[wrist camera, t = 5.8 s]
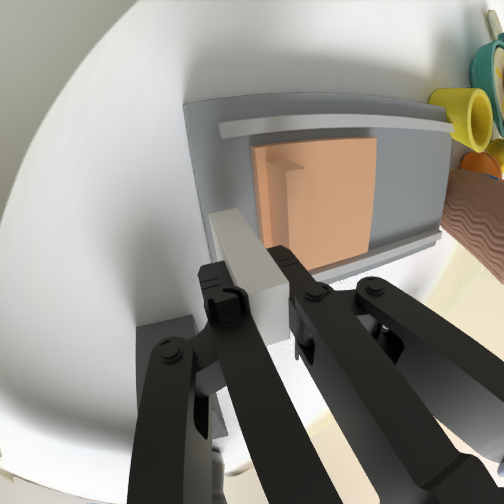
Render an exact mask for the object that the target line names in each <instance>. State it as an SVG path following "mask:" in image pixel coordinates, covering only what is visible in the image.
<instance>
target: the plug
mask: <svg viewBox="0 0 504 504" xmlns="http://www.w3.org/2000/svg"><path fill="white" fill-rule="evenodd" d="M198 333H199V332H198V329H197V327H196V324H195V321H194V318H193V315H188V316H184V317H180V318H176V319H172V320H167V321H163V322H159V323H154V324H150V325H146V326H141V327H136V392H137V410H138V412H139V407H140V401H141V396H142V391H143V386H144V381H145V376H146V372H147V367H148V363H149V358H150V354H151V352H152V349H153V347H154V346H155V345H156V344H157V343H158V342H159V341H161V340H163V339H165V338H168V337H173V336H176V337H182V338H184V339H186V340H188V339H190V338H192V337H194V336H195V335H197V334H198ZM224 436H228V432H227V429H226V426H225V423H224V419H223V416H222V412H221V409H220V405H219V402H218V398H217V394H216V392H215V393H214V394H213V405H212V439H216V438H220V437H224Z"/></svg>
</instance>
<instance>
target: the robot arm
mask: <svg viewBox="0 0 504 504" xmlns="http://www.w3.org/2000/svg"><path fill="white" fill-rule="evenodd" d="M208 215H209V220H210V225H211V230H212V235H213V240H214V245H215V250H216V255H217V259H218V262H215V263H211V264H207V265H203V266H201V267H200V270H199V272H198V277H199V282H200V286H201V290H202V294H203V298H204V308H205V312H206V315H207V318H208V321H207V324H206V326H205V328H204V329H203V330H202V331H201V332H200V333H198V334H197V335H195V336H194V337H192V338H190V339H188V340H186V339H184V338H182V337H176V336H173V337H168V338H165V339H163V340H161V341H159V342H158V343H157V344H156V345H155V346H154V347H153V349H152V352H151V354H150V358H149V363H148V367H147V372H146V376H145V381H144V386H143V391H142V396H141V401H140V407H139V412H138V418H137V424H136V430H135V436H134V443H133V450H132V458H131V465H130V474H129V484H128V494H127V504H227V501H226V499H225V496H224V492H223V481H224V461H223V458H222V455H221V454H220V453H218V452H214V451H212V405H213V394H214V393H215V392H217V391H219V390H220V389H222V388H223V387H225V386H227V388H228V391H229V394H230V397H231V401H232V404H233V407H234V410H235V413H236V416H237V419H238V422H239V425H240V428H241V431H242V434H243V437H244V439H245V442H246V445H247V448H248V451H249V453H250V456H251V459H252V462H253V464H254V467H255V470H256V472H257V475H258V477H259V480H260V483H261V485H262V488H263V490H264V493H265V495H266V497H267V500H268V502H269V504H343V502H342V500H341V498H340V497H339V495H338V493H337V491H336V489H335V487H334V485H333V483H332V481H331V479H330V477H329V476H328V474H327V472H326V470H325V468H324V466H323V464H322V462H321V460H320V458H319V456H318V454H317V452H316V450H315V448H314V446H313V444H312V442H311V441H310V438H309V436H308V434H307V432H306V430H305V428H304V426H303V424H302V422H301V420H300V418H299V416H298V414H297V412H296V409H295V407H294V405H293V403H292V401H291V399H290V397H289V395H288V393H287V391H286V389H285V386H284V384H283V382H282V380H281V378H280V376H279V374H278V372H277V369H276V367H275V365H274V363H273V361H272V359H271V357H270V354H269V352H268V350H267V348H266V346H267V345H271V344H274V343H277V342H280V341H283V340H286V339H289V338H290V330H291V331H292V333H293V335H294V337H295V359H296V360H299V355H300V357H301V358H302V360H303V362H304V364H305V366H306V367H307V369H308V371H309V373H310V375H311V377H312V378H313V380H314V382H315V384H316V386H317V387H318V389H319V391H320V393H321V395H322V396H323V398H324V400H325V402H326V404H327V405H328V407H329V409H330V411H331V413H332V414H333V416H334V418H335V420H336V422H337V423H338V425H339V427H340V429H341V430H342V432H343V434H344V436H345V437H346V439H347V441H348V443H349V445H350V446H351V448H352V450H353V452H354V453H355V455H356V457H357V459H358V461H359V462H360V464H361V466H362V468H363V469H364V471H365V473H366V475H367V476H368V478H369V480H370V482H371V484H372V485H373V487H374V489H375V491H376V492H377V494H378V496H379V499H380V504H504V487H498V486H497V485H496V483H495V481H494V480H493V478H492V477H491V475H490V473H489V472H488V470H487V469H486V467H485V466H484V464H483V463H482V462H481V461H480V459H478V457H476V456H474V455H471V454H465V453H461V452H459V451H458V450H457V449H456V448H455V447H454V445H453V444H452V442H451V441H450V439H449V438H448V436H447V435H446V434H445V432H444V431H443V429H442V428H441V426H440V425H439V424H438V422H437V421H436V419H438V420H439V421H440V422H441V423H442V424H444V425H445V426H446V427H447V428H448V429H450V430H451V431H452V432H453V433H454V434H455V435H457V436H458V437H459V438H460V439H462V440H463V441H464V442H465V443H466V444H467V445H469V446H470V447H471V448H472V449H474V450H475V451H476V452H477V453H479V454H480V455H482V456H483V457H485V458H487V459H489V460H491V461H494V462H497V463H500V465H499V467H498V471H497V472H498V475H499V476H500V477H503V476H504V362H503V361H502V360H501V359H499V358H498V357H497V356H496V355H494V354H493V353H492V352H490V351H489V350H487V349H486V348H485V347H484V346H482V345H481V344H479V343H478V342H477V341H475V340H474V339H472V338H471V337H470V336H468V335H467V334H466V333H464V332H463V331H461V330H460V329H458V328H457V327H455V326H454V325H453V324H451V323H450V322H448V321H447V320H445V319H444V318H443V317H441V316H440V315H438V314H437V313H435V312H434V311H432V310H431V309H429V308H428V307H426V306H425V305H423V304H422V303H420V302H419V301H417V300H416V299H414V298H413V297H411V296H410V295H408V294H406V293H405V292H403V291H402V290H400V289H399V288H397V287H396V286H394V285H392V284H391V283H389V282H388V281H386V280H384V279H382V278H379V277H374V276H371V277H365V278H363V279H361V280H360V281H359V282H358V283H357V287H356V289H353V290H342V291H335V290H334V289H333V288H332V287H330V286H329V285H328V284H326V283H323V282H317V281H316V280H315V279H314V278H313V277H312V275H311V274H310V273H309V272H308V271H307V269H306V268H305V267H304V266H303V265H302V263H300V261H299V260H298V258H297V257H296V256H295V255H294V254H293V252H292V251H291V250H290V249H288V248H286V247H284V246H282V245H278V246H274V247H270V248H267V249H266V248H265V247H264V245H263V244H262V242H261V241H260V240H259V238H258V237H257V235H256V234H255V232H254V231H253V230H252V228H251V227H250V225H249V224H248V222H247V221H246V220H245V218H244V217H243V215H242V214H241V213H240V211H239V210H238V208H233V209H228V210H224V211H220V212H215V213H211V214H208ZM383 325H384V326H385V327H387V328H388V329H389V330H387V329H384V328H383V327H382V326H383ZM433 416H434V417H435V418H436V419H435V418H434V417H433ZM88 504H95V503H88Z"/></svg>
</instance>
